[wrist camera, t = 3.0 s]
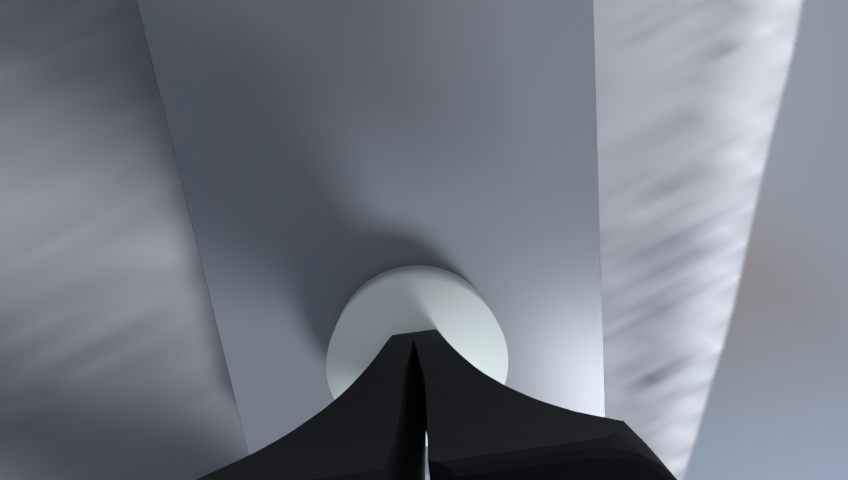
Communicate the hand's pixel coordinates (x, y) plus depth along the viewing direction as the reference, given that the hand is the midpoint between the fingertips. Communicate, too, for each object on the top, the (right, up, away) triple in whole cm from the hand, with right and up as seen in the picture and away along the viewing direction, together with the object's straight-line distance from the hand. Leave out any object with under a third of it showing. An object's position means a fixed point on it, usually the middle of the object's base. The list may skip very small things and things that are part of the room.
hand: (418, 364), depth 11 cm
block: (-1, +7, +3) cm, 8 cm away
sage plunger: (0, +1, +4) cm, 4 cm away
